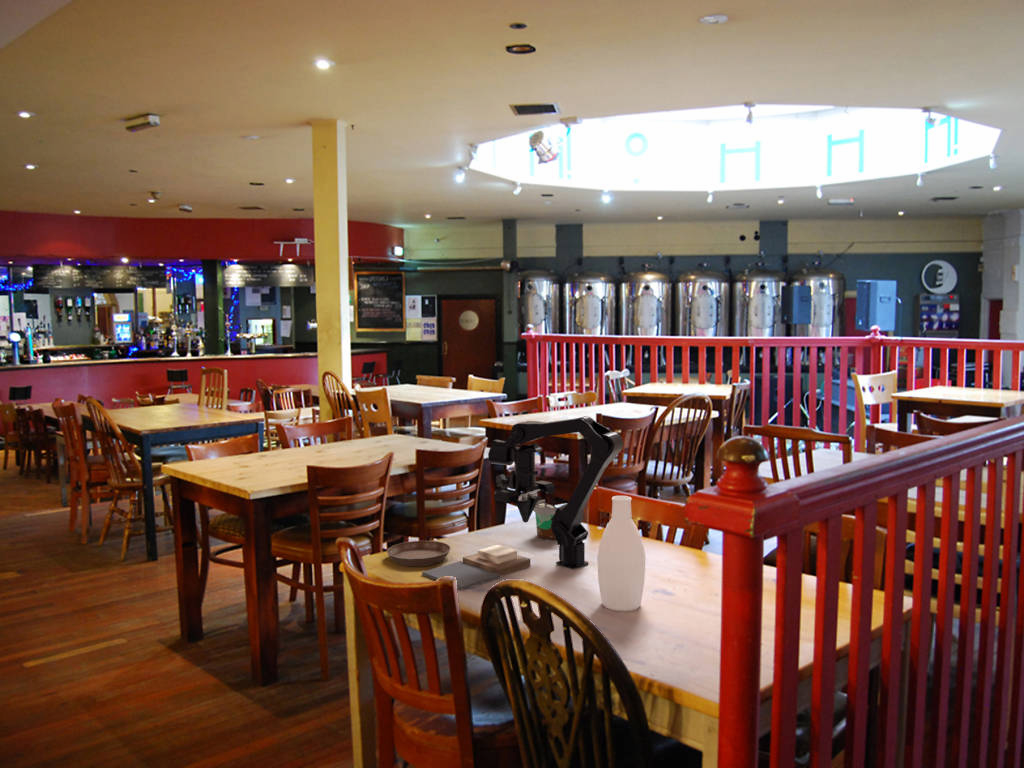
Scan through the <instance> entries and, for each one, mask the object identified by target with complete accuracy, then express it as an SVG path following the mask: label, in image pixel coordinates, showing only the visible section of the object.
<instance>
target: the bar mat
mask: <svg viewBox="0 0 1024 768" xmlns="http://www.w3.org/2000/svg"><path fill="white" fill-rule="evenodd" d="M421 573H422V576H424V577H426V578H429V579H431V580H434V581H437V580H436V579H438V578H440V577H444V576H453V577H456V580H457V587H458V588H457V589H458V590H460V591H463V590H466V589H468V588H473V587H475V585H476V586H478V585H481V584H484V583H488V582H490V581H494V580H497V579H500V578H501V576H500V574H497V573H494V572H491V571H488V570H485V569H483V568H480V567H477V566H474V565H471V564H468V563H465V562H463V560H462V561H461V560H459V561H455V562H452V563H449V564H446V565H442V566H438V567H434V568H432V569H428V570H425V571H424V570H423V571H421ZM472 586H473V587H472ZM465 588H466V589H465Z"/></svg>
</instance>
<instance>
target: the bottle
mask: <svg viewBox="0 0 1024 768" xmlns="http://www.w3.org/2000/svg"><path fill="white" fill-rule="evenodd" d="M632 499H633V498H632V497H631V496H628V495H614V496H612V497H611V501H612V503H611V504H612V506H611V519H609V522H608V523H607V525H606V527H605V529H604V530H603V533H602V536H601V539H600V542H599V545H598V552H597V577H598V579H597V581H598V587H599V593H600V601H601V603H602V605H603V607H604V606H605V607H604V608H606V609H607V608H608V609H607V610H610V611H614V610H615V611H616V612H631V611H635V610H637V609H638V608H639V607H641V605H642V599H643V593H644V588H645V587H644V586H645V579H646V575H645V574H646V559H647V558H646V553H645V552H646V551H645V545H644V542H643V538H642V535H641V533H640V530H639V529H638V527H637V526H636V523H635V522H634V520H633V516H632V502H631V501H632Z"/></svg>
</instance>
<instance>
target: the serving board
mask: <svg viewBox="0 0 1024 768" xmlns="http://www.w3.org/2000/svg"><path fill="white" fill-rule="evenodd" d="M462 562H465V563H468V564H471V565H474V566H477V567H480V568H483V569H485V570H488V571H491V572H494V573H497V574H500V577H501V576H504V575H507V574H510V573H513V572H517V571H521V570H523V569H526V568H529V566H530V567H531V558H530V557H529V558H528V557H525V556H522V555H518V554H517V558H516V559H513V560H510V561H506V562H503V563H500V564H497V563H494V562H491V561H488V560H485V559H482V558H479V557H478V553H473V554H470V555H466V556H463V557H462Z"/></svg>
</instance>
